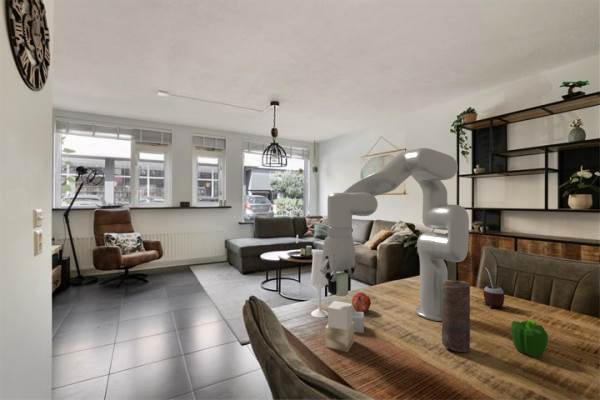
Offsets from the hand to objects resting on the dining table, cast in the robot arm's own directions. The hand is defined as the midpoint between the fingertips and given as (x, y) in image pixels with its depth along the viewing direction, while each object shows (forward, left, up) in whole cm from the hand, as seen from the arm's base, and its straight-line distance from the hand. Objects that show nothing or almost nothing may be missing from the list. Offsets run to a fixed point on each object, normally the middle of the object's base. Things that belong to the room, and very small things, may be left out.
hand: (339, 291), depth 86 cm
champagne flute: (+14, -18, -17) cm, 28 cm away
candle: (-32, -12, -17) cm, 38 cm away
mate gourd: (-48, -55, -17) cm, 75 cm away
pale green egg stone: (0, 0, -1) cm, 1 cm away
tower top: (0, 0, -11) cm, 11 cm away
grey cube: (-2, -12, -17) cm, 21 cm away
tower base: (0, 0, -17) cm, 17 cm away
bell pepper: (-51, -19, -17) cm, 57 cm away
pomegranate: (0, -28, -17) cm, 33 cm away
